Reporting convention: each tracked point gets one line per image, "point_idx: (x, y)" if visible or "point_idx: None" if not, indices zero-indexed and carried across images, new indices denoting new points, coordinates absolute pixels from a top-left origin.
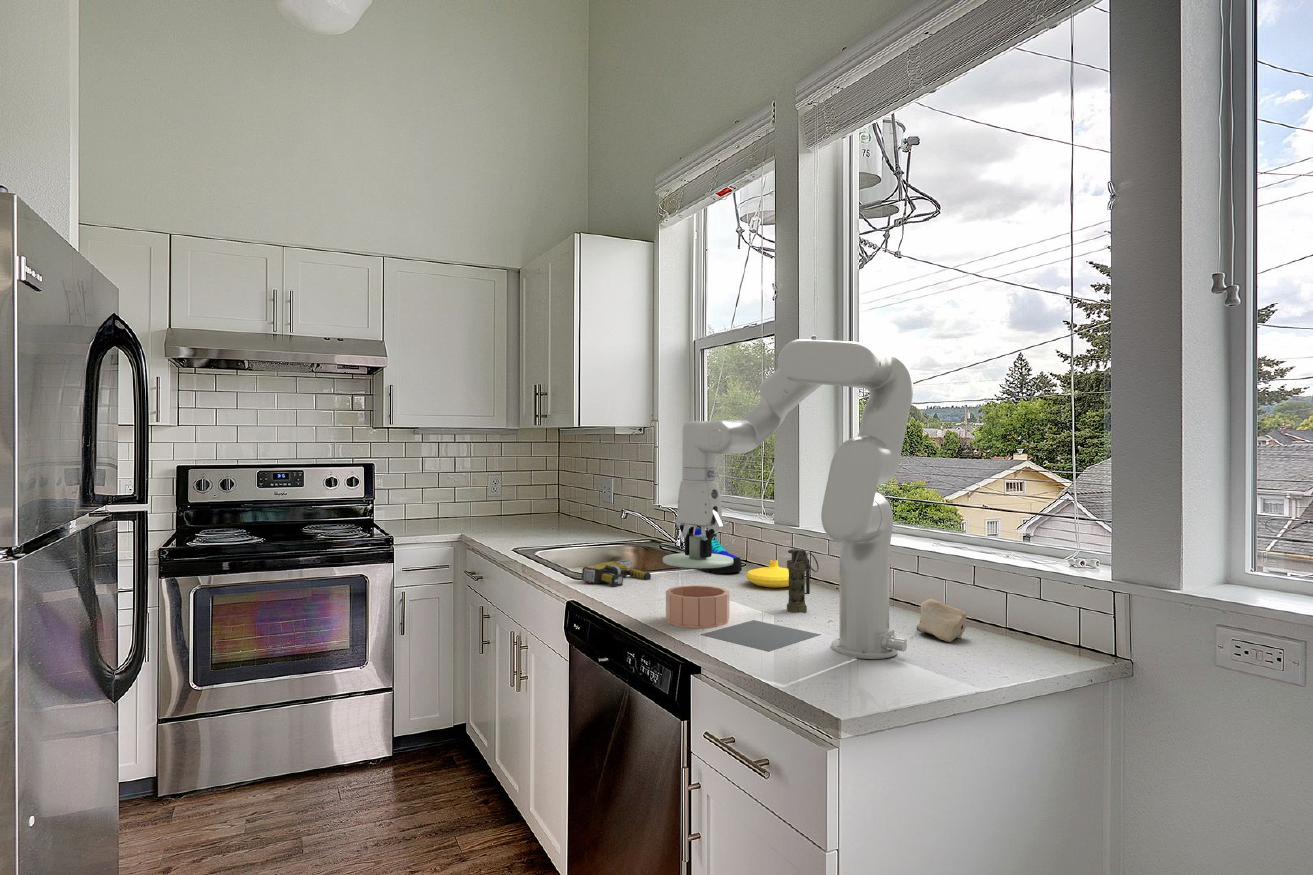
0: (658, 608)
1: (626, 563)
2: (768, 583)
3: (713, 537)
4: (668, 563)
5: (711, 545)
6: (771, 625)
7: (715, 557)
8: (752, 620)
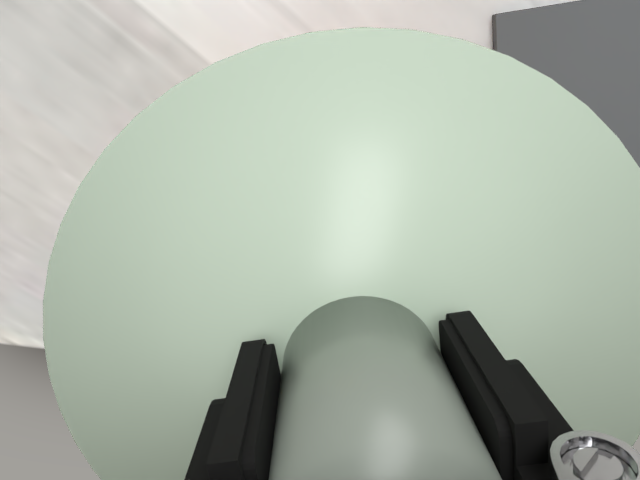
0: (34, 197)
1: None
2: None
3: (635, 465)
4: None
5: (553, 405)
6: (620, 20)
7: (415, 207)
8: (498, 25)
